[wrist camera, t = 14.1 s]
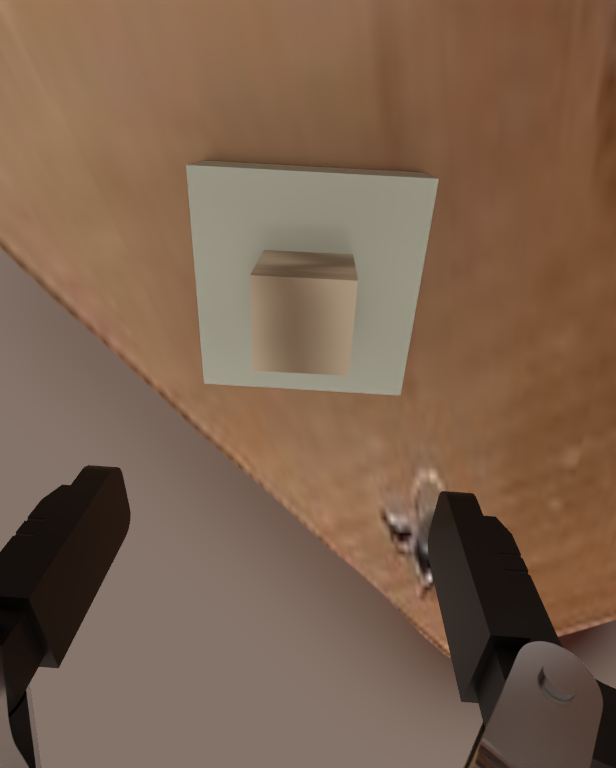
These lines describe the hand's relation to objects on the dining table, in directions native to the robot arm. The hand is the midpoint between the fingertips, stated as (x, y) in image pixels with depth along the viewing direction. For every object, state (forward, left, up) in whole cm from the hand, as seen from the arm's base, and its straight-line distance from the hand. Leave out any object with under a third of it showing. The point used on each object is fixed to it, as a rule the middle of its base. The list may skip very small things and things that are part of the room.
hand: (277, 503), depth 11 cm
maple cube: (0, 0, -17) cm, 17 cm away
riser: (0, 0, -21) cm, 21 cm away
